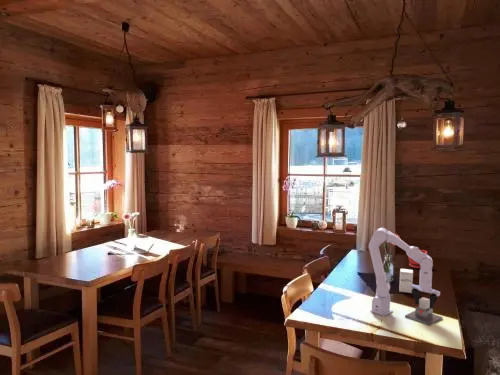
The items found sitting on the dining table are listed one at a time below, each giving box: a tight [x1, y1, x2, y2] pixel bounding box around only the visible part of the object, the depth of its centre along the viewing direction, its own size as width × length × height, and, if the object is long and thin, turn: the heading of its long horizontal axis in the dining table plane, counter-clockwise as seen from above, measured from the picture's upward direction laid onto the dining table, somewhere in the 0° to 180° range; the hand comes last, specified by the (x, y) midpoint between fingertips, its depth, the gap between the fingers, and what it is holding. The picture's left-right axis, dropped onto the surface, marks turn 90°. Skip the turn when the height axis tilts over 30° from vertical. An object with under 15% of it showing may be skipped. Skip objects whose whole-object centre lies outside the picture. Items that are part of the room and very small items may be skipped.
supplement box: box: [398, 268, 414, 294], centre depth 251 cm, size 7×7×13 cm
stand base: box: [404, 306, 443, 327], centre depth 210 cm, size 13×13×5 cm
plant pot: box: [407, 249, 428, 269], centre depth 303 cm, size 13×13×12 cm
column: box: [418, 296, 430, 311], centre depth 209 cm, size 4×4×9 cm
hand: (424, 305), depth 209 cm, fingers open, 7 cm apart
